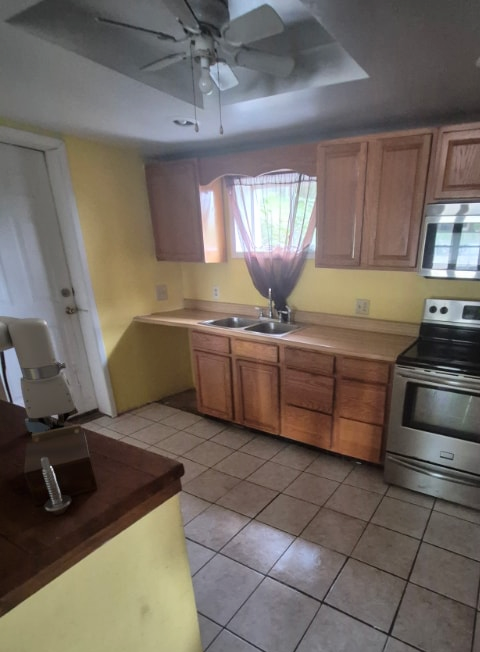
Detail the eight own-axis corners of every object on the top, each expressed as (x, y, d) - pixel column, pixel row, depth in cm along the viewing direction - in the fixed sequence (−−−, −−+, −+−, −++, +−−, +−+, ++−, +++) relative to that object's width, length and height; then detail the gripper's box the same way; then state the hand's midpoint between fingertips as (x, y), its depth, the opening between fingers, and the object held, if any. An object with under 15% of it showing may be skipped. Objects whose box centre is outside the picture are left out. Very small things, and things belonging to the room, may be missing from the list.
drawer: (39, 448, 97) (32, 425, 94) (84, 438, 102) (78, 416, 99) (38, 482, 83) (30, 457, 81) (90, 469, 89) (84, 444, 86)
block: (36, 434, 106) (33, 422, 104) (28, 431, 107) (24, 419, 106) (50, 428, 109) (47, 416, 107) (42, 425, 111) (38, 413, 109)
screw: (54, 522, 73) (41, 513, 76) (78, 508, 77) (65, 500, 79) (36, 466, 68) (23, 459, 70) (63, 454, 72) (49, 448, 74)
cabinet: (37, 475, 88) (26, 443, 84) (91, 461, 94) (84, 431, 90) (35, 507, 77) (24, 472, 74) (97, 489, 83) (89, 456, 80)
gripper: (75, 362, 95) (91, 425, 103) (4, 371, 88) (26, 439, 95) (77, 370, 89) (93, 436, 97) (0, 381, 82) (24, 452, 89)
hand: (60, 437), depth 96 cm, fingers closed
